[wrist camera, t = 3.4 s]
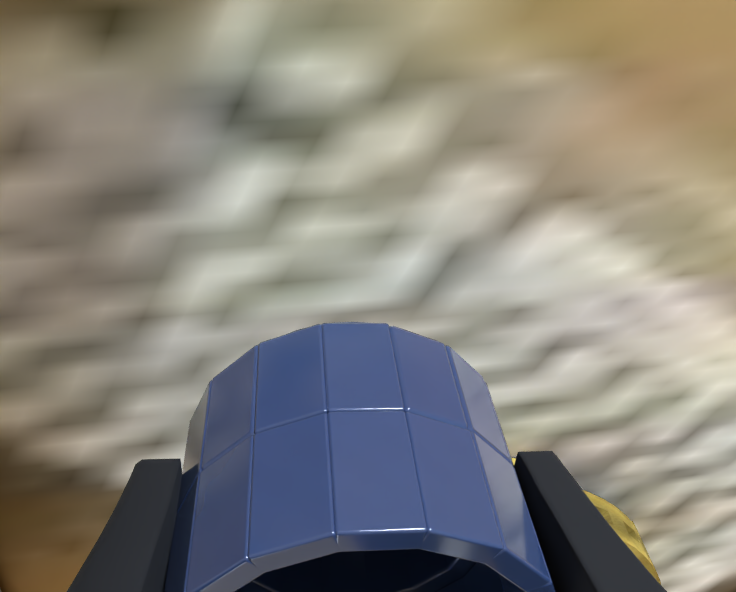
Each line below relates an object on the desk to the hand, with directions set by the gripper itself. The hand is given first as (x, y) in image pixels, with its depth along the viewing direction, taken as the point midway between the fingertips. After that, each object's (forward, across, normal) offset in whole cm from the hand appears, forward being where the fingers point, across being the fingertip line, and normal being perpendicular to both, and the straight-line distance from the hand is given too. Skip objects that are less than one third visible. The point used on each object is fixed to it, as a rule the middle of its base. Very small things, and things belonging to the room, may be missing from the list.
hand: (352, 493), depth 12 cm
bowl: (+2, 0, 0) cm, 2 cm away
